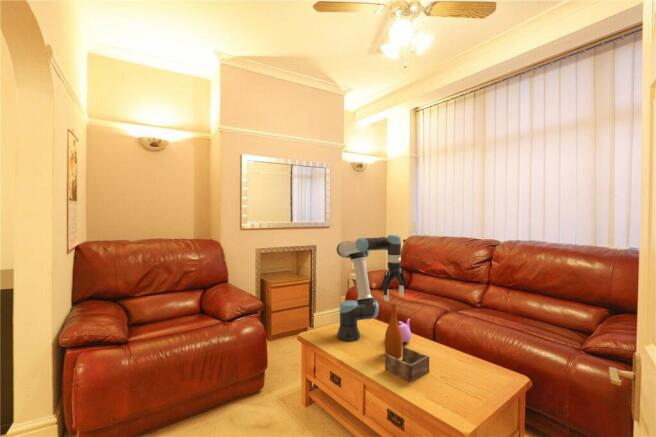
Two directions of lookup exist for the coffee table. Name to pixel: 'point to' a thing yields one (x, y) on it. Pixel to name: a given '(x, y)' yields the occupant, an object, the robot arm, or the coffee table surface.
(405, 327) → the teapot
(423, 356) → the wooden box
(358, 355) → the coffee table surface
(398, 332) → the wine bottle
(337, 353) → the coffee table surface
